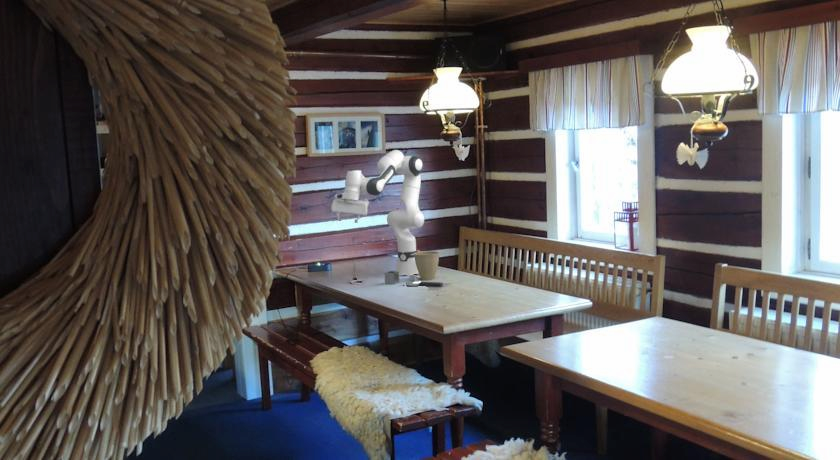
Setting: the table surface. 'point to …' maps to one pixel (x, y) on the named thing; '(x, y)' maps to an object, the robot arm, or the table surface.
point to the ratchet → (415, 283)
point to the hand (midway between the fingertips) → (347, 221)
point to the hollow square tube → (391, 277)
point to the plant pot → (427, 264)
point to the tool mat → (439, 287)
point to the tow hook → (354, 271)
